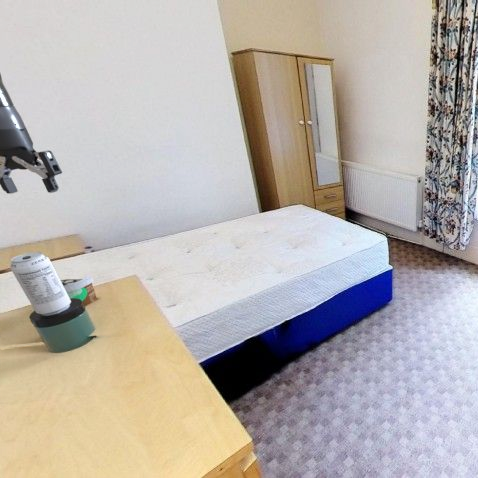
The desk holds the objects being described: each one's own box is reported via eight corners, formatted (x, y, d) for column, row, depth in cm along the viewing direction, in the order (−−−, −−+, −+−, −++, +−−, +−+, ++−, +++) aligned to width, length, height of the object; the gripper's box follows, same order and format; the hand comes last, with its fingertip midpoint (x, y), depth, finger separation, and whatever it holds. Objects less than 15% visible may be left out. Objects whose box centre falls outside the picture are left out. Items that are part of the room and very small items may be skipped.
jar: (37, 355, 80) (18, 324, 76) (66, 330, 88) (50, 301, 84) (81, 350, 81) (65, 320, 78) (105, 326, 90) (92, 298, 86)
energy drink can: (72, 299, 84) (46, 248, 78) (72, 309, 80) (45, 257, 74) (38, 309, 80) (7, 256, 74) (37, 320, 76) (4, 265, 70)
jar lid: (21, 328, 76) (17, 321, 76) (54, 305, 85) (51, 299, 84) (66, 325, 78) (62, 318, 77) (94, 303, 86) (91, 297, 85)
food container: (38, 321, 91) (20, 292, 87) (54, 308, 96) (38, 280, 92) (91, 314, 94) (77, 286, 90) (104, 302, 99) (91, 275, 95)
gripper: (-56, 127, 71) (-16, 197, 78) (24, 128, 74) (55, 195, 81) (-21, 124, 78) (12, 189, 84) (50, 125, 81) (77, 187, 87)
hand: (33, 192), depth 83 cm, fingers open, 8 cm apart
